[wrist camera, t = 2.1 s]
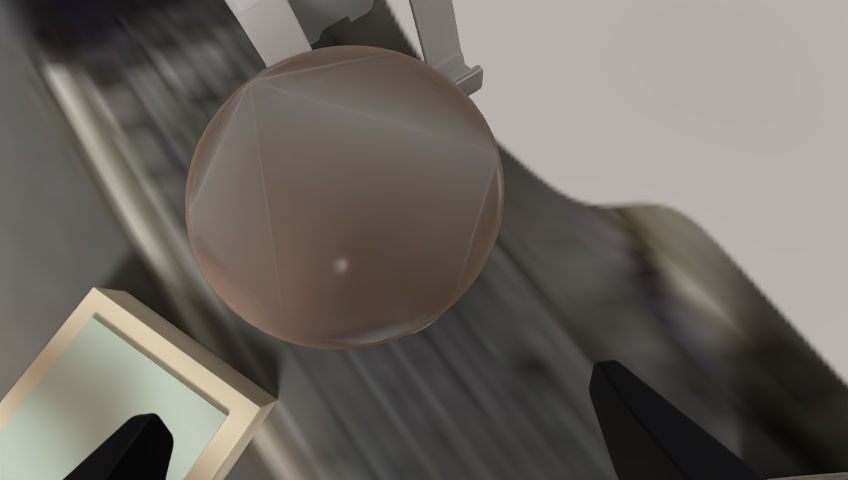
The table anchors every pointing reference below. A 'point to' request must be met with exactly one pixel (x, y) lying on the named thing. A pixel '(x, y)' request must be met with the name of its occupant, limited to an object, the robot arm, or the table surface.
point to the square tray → (126, 394)
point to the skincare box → (817, 477)
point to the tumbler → (344, 197)
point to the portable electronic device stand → (328, 3)
